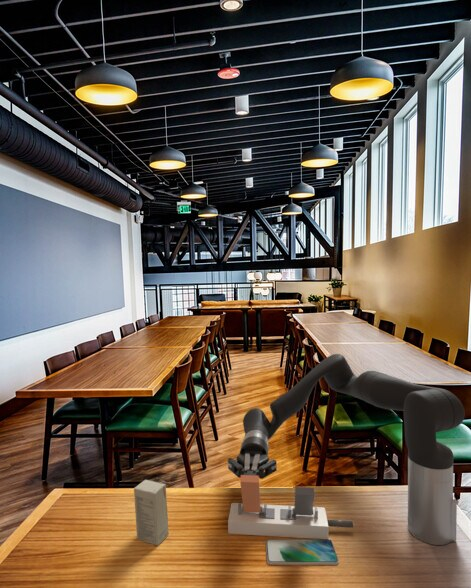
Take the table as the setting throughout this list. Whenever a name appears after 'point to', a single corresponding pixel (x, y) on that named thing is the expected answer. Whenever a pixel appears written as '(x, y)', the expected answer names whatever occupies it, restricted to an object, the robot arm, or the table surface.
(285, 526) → the power strip
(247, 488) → the bar
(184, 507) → the table surface
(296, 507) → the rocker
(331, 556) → the smartphone
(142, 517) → the skincare box
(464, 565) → the table surface
